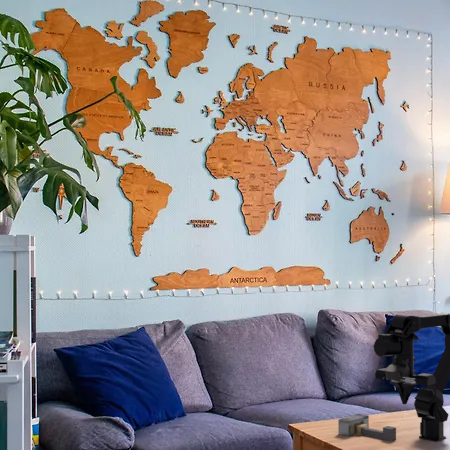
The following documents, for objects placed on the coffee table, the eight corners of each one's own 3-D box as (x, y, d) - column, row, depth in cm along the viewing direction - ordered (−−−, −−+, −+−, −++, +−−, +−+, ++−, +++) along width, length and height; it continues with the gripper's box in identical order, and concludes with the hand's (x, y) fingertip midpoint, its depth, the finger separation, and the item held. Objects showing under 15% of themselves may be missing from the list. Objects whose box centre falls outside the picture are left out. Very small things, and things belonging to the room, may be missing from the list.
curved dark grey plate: (368, 429, 245) (368, 415, 245) (348, 436, 237) (348, 421, 237) (358, 427, 248) (358, 413, 248) (338, 434, 239) (338, 419, 240)
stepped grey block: (396, 439, 233) (396, 427, 233) (391, 441, 231) (391, 429, 231) (366, 433, 241) (366, 421, 241) (361, 435, 238) (361, 423, 239)
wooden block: (367, 433, 241) (367, 424, 241) (360, 435, 238) (360, 426, 238) (354, 431, 244) (354, 422, 245) (347, 433, 241) (347, 424, 242)
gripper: (365, 354, 231) (365, 403, 230) (418, 360, 218) (418, 412, 217) (383, 350, 239) (383, 398, 238) (436, 356, 226) (436, 407, 226)
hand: (404, 404), depth 230 cm, fingers closed
